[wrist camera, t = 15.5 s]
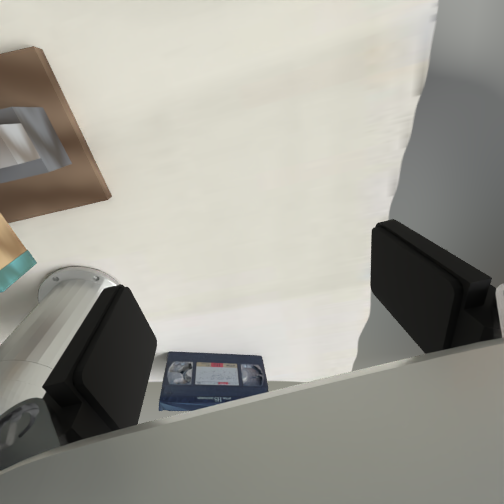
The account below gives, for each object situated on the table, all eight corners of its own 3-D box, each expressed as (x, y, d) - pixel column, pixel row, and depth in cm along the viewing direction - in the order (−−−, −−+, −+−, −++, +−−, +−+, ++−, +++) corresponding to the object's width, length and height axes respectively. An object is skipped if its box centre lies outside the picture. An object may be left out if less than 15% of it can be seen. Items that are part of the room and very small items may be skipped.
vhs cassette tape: (262, 354, 53) (272, 402, 45) (259, 365, 55) (267, 413, 46) (168, 348, 49) (158, 400, 41) (167, 360, 51) (157, 411, 42)
